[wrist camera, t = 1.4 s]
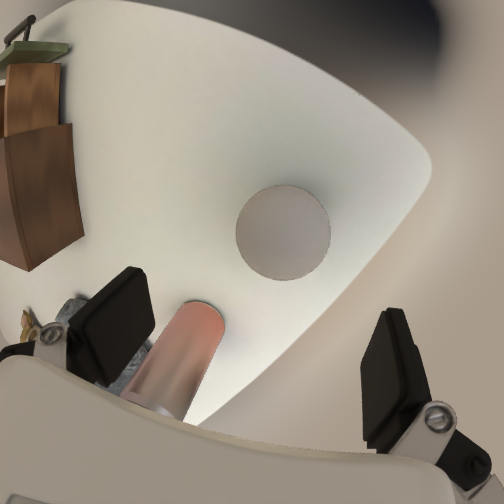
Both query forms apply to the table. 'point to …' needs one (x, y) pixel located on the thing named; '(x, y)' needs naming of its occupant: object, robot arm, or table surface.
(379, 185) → the table surface
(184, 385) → the beverage can
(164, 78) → the table surface
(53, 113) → the drawer
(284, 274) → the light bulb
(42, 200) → the cabinet
